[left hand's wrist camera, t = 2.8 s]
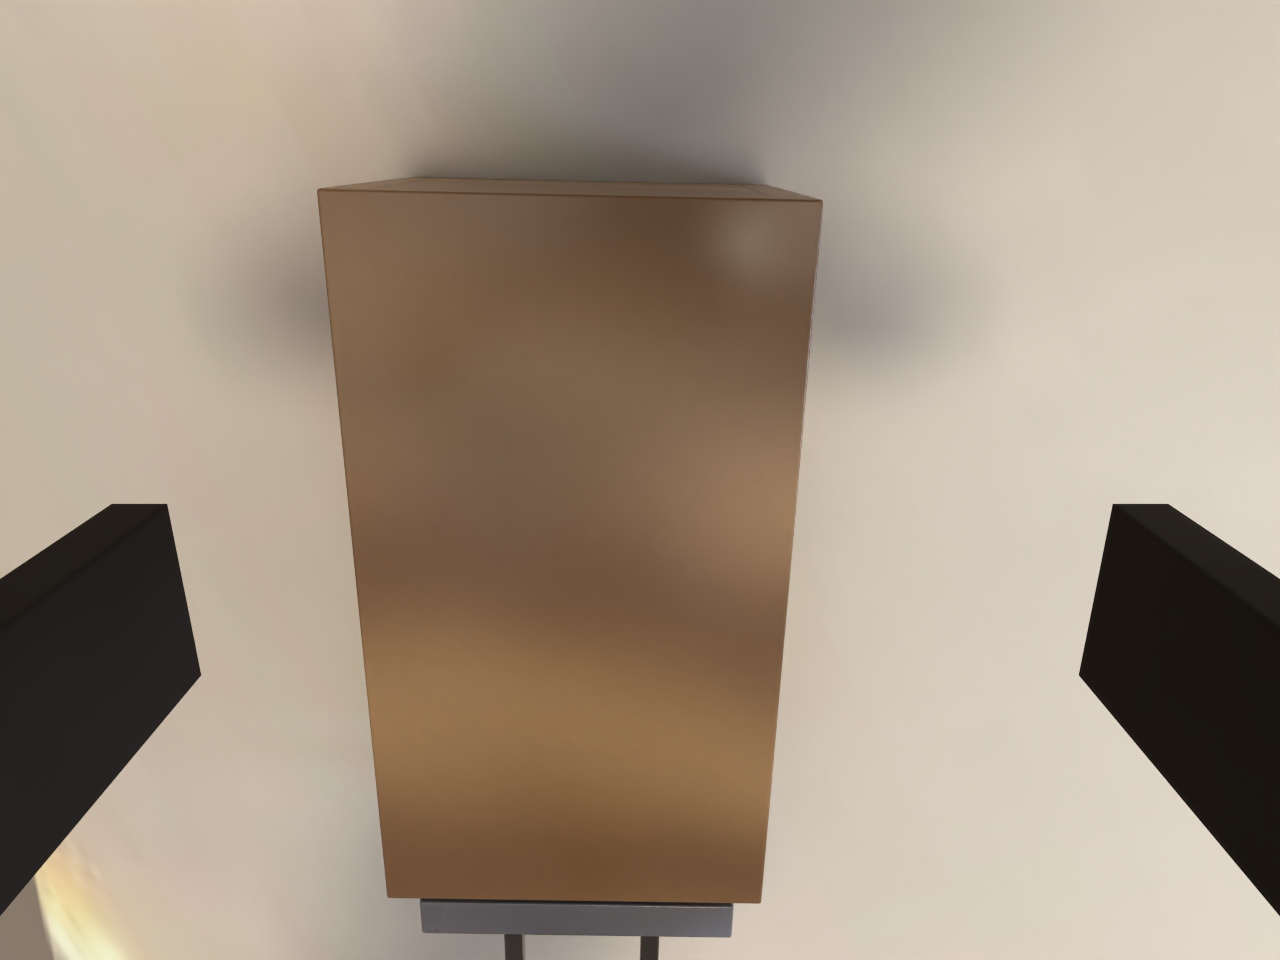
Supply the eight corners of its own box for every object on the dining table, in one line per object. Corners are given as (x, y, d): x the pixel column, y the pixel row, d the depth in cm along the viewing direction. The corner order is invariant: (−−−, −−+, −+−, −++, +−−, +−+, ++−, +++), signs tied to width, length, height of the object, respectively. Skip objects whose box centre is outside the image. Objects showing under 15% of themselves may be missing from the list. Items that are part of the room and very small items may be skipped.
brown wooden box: (732, 726, 32) (760, 904, 25) (446, 721, 32) (386, 898, 25) (769, 184, 26) (824, 199, 18) (411, 177, 26) (316, 188, 18)
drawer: (706, 924, 34) (720, 1083, 28) (468, 920, 34) (434, 1079, 28) (744, 311, 26) (775, 358, 20) (432, 305, 26) (373, 350, 20)
